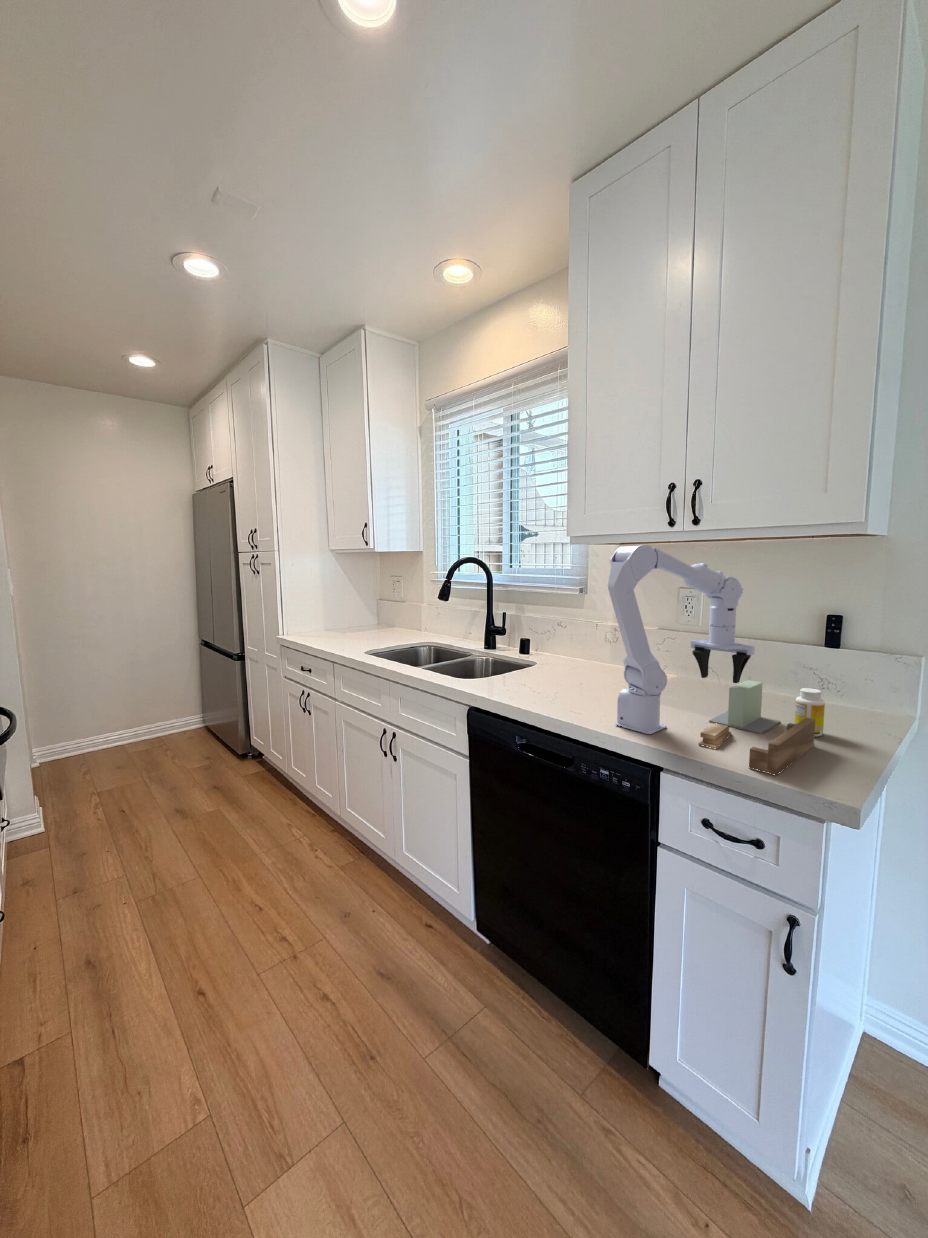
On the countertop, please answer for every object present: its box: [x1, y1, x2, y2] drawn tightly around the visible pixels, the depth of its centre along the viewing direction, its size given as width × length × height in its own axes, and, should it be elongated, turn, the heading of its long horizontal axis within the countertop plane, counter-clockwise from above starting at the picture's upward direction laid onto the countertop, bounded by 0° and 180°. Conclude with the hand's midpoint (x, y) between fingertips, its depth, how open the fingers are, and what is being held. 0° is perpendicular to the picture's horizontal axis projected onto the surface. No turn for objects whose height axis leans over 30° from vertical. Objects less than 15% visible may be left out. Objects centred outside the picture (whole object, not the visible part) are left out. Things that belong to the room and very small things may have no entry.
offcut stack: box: [698, 723, 732, 749], centre depth 114 cm, size 4×12×3 cm, turn 139°
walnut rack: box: [748, 718, 815, 776], centre depth 104 cm, size 5×22×6 cm, turn 130°
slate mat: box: [708, 710, 781, 735], centre depth 126 cm, size 12×12×1 cm
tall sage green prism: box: [727, 679, 763, 727], centre depth 125 cm, size 3×11×9 cm, turn 130°
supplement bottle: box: [793, 687, 826, 738], centre depth 117 cm, size 6×6×10 cm
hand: (720, 679), depth 126 cm, fingers open, 7 cm apart
